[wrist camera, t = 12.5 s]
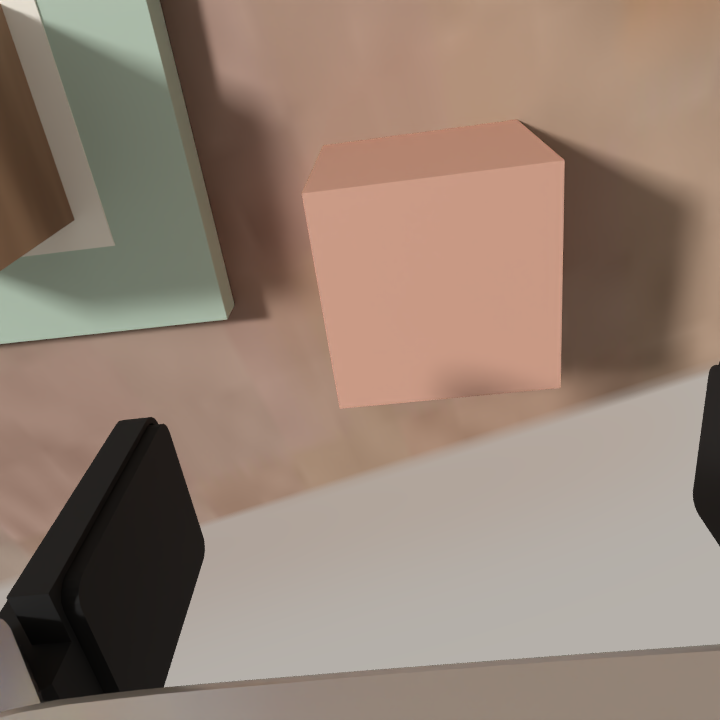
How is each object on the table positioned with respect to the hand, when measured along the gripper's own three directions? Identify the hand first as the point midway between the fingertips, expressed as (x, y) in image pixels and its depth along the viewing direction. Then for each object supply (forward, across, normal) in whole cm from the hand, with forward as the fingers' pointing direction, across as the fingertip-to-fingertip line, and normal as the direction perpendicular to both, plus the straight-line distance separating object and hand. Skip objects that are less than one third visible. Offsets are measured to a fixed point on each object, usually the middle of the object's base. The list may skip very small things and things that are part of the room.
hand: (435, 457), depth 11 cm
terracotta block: (+12, -1, -1) cm, 12 cm away
